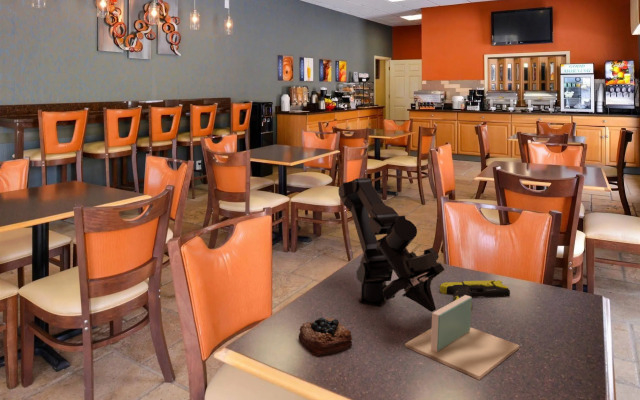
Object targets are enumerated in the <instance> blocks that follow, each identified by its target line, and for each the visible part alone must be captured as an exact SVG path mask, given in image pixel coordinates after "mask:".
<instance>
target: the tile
mask: <svg viewBox="0 0 640 400" xmlns="http://www.w3.org/2000/svg"><path fill="white" fill-rule="evenodd" d="M471 306H472V307H473V297H470V296H467V295H464V296H463V297H461V298H459V299H457V300H455V301H453V300H452V302H449V303H448V304H446V305H444V306H442V307H441V308H439V309H437V310H434V311H433V312H431V316H432V317H431V328H432V330H431V350H433V351H435V352H438V351H439V350H441V349H442V348H444V347H445V346H447V345H449V344H450V343H452V342H453V341H455V340H456V339H458V338H460V337H461V336H463V335H464V334H466V333H467V332H469V331H470V327H471V322H472V321H471V319H472V309H471Z"/></svg>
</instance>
